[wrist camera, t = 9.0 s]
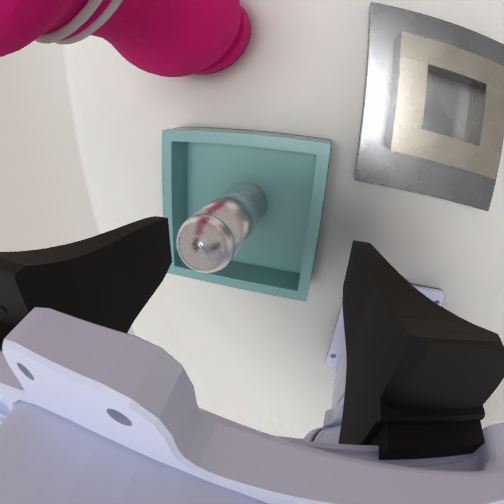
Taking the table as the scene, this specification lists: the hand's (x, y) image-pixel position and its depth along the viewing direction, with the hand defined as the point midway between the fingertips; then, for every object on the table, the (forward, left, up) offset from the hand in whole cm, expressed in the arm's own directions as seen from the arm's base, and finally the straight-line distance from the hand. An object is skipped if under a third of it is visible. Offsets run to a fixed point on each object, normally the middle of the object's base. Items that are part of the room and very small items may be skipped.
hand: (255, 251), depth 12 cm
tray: (-2, +3, -10) cm, 11 cm away
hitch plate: (+7, -9, -10) cm, 16 cm away
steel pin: (-1, +3, -10) cm, 10 cm away
